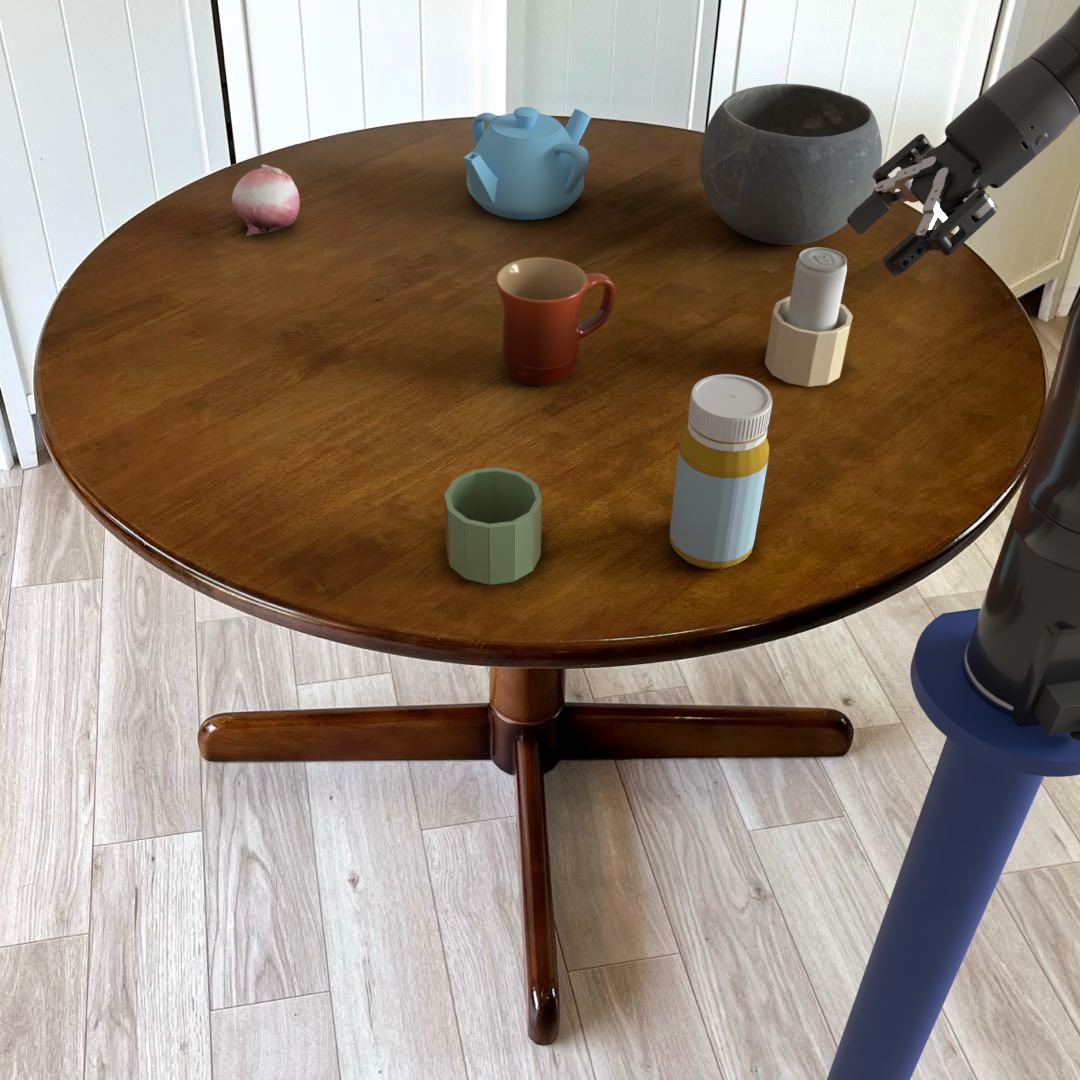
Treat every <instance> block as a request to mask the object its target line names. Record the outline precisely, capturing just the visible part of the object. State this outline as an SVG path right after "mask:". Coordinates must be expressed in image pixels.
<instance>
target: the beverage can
mask: <svg viewBox="0 0 1080 1080" xmlns="http://www.w3.org/2000/svg"><path fill="white" fill-rule="evenodd" d="M847 264H848V259H847V257H846V256H845V254H843V253H842V252H840V251H838V250H835V249H833V248H830V247H820V246H815V247H808V248H805V249H803V250H802V251H801V252H799V254H798V258H797V260H796V263H795V269H794V274H793V280H792V286H791V290H790V291H791V292H790V296H791V297H790V303H789V309H788V315H787V321H786V323H788V324H790V325H792V326H794V327H796V328H798V329H804V330H809V331H815V332H820V331H831V330H835V326H836V322H837V317H838V312H839V307H840V303H841V302H842V298H843V291H844V287H845V281H846V276H847V271H848V266H847Z"/></svg>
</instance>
